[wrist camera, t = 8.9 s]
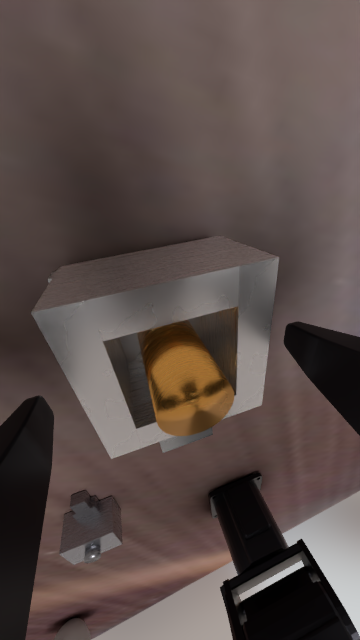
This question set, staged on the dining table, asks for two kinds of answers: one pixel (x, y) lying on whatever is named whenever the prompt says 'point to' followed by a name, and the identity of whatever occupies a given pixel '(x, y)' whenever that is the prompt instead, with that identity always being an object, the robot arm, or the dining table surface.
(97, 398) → the grey square frame
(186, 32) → the dining table surface
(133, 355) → the peg stand
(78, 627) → the grey stone carving
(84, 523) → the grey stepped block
